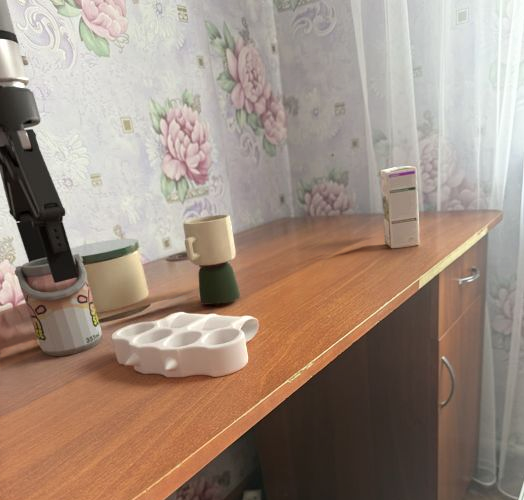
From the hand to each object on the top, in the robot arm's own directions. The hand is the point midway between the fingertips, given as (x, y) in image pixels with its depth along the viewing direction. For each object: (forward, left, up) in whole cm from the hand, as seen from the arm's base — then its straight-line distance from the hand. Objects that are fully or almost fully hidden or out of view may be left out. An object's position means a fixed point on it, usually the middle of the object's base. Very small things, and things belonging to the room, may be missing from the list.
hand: (53, 273), depth 64 cm
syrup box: (+1, +65, -11) cm, 66 cm away
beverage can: (0, 0, -11) cm, 11 cm away
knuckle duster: (+16, +9, -11) cm, 22 cm away
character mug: (+1, +23, -11) cm, 25 cm away
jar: (-13, +10, -10) cm, 19 cm away
